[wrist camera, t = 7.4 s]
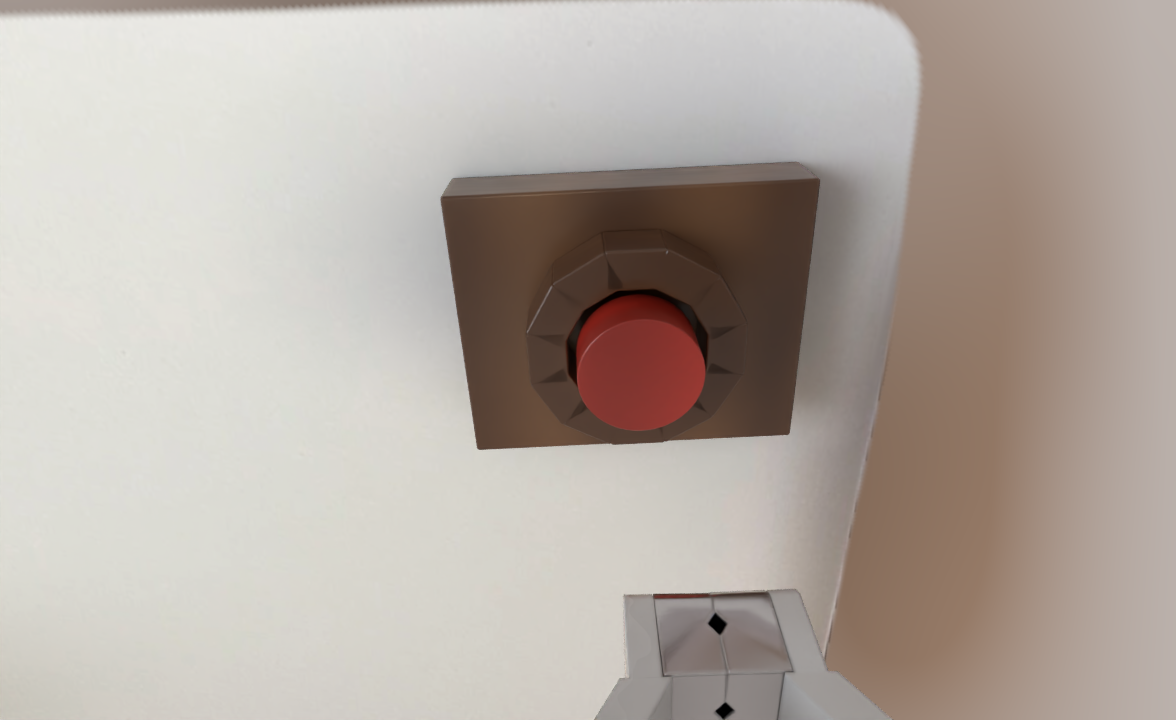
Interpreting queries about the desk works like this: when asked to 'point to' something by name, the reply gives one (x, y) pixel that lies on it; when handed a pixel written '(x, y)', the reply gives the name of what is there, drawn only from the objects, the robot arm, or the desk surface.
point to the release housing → (630, 291)
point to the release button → (639, 363)
